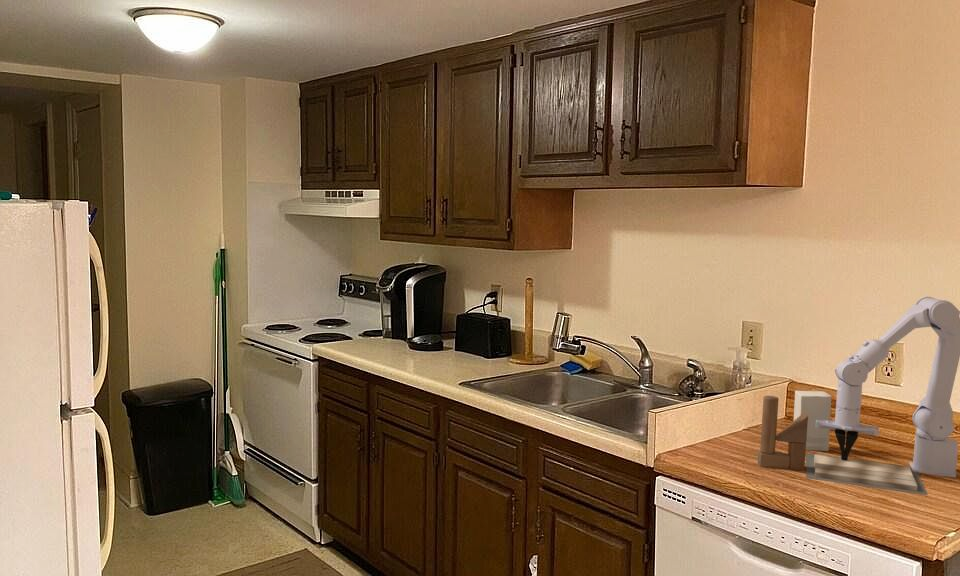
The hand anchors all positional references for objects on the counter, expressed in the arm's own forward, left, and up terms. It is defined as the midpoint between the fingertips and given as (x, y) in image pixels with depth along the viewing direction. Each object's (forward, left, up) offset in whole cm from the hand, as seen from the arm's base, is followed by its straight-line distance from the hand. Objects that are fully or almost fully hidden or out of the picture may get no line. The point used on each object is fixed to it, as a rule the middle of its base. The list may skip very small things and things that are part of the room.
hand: (844, 459), depth 204 cm
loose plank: (-4, +2, -1) cm, 5 cm away
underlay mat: (-4, +5, -2) cm, 7 cm away
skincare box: (+8, -13, -2) cm, 15 cm away
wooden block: (+15, +9, -2) cm, 18 cm away
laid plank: (-4, +11, -1) cm, 11 cm away
